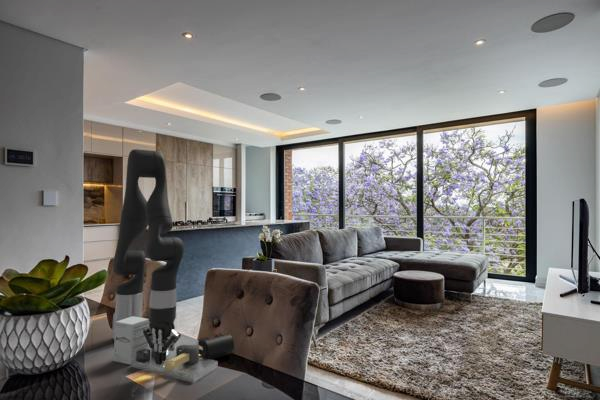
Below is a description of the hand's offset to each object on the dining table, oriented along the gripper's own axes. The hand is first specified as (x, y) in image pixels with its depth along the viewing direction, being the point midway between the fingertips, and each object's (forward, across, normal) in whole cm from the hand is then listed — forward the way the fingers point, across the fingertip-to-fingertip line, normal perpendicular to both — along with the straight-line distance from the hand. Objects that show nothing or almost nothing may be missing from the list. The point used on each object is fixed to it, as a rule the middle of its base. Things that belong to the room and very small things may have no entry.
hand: (160, 363), depth 99 cm
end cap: (+3, +7, +17) cm, 19 cm away
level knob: (+1, +5, +3) cm, 6 cm away
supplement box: (+3, -17, +4) cm, 17 cm away
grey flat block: (+3, 0, +6) cm, 6 cm away
